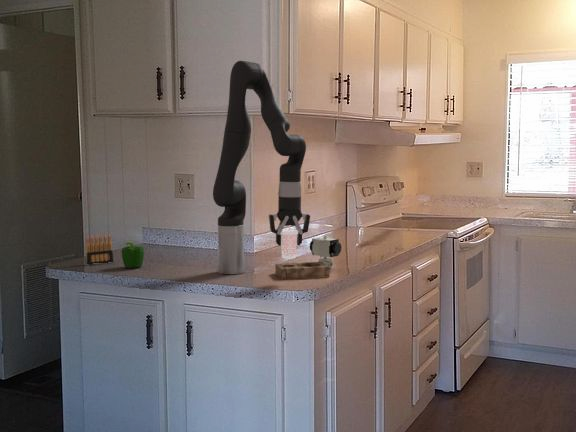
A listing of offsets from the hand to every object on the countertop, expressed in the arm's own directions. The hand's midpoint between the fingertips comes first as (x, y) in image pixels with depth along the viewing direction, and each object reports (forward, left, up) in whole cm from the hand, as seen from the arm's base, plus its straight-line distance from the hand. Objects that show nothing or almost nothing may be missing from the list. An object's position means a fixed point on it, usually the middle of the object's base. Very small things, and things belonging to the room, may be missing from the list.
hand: (289, 245), depth 234 cm
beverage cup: (0, 0, -4) cm, 4 cm away
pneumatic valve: (+18, +23, -13) cm, 32 cm away
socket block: (+7, +11, -12) cm, 18 cm away
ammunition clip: (-65, +55, -13) cm, 86 cm away
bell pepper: (-52, +43, -13) cm, 68 cm away
